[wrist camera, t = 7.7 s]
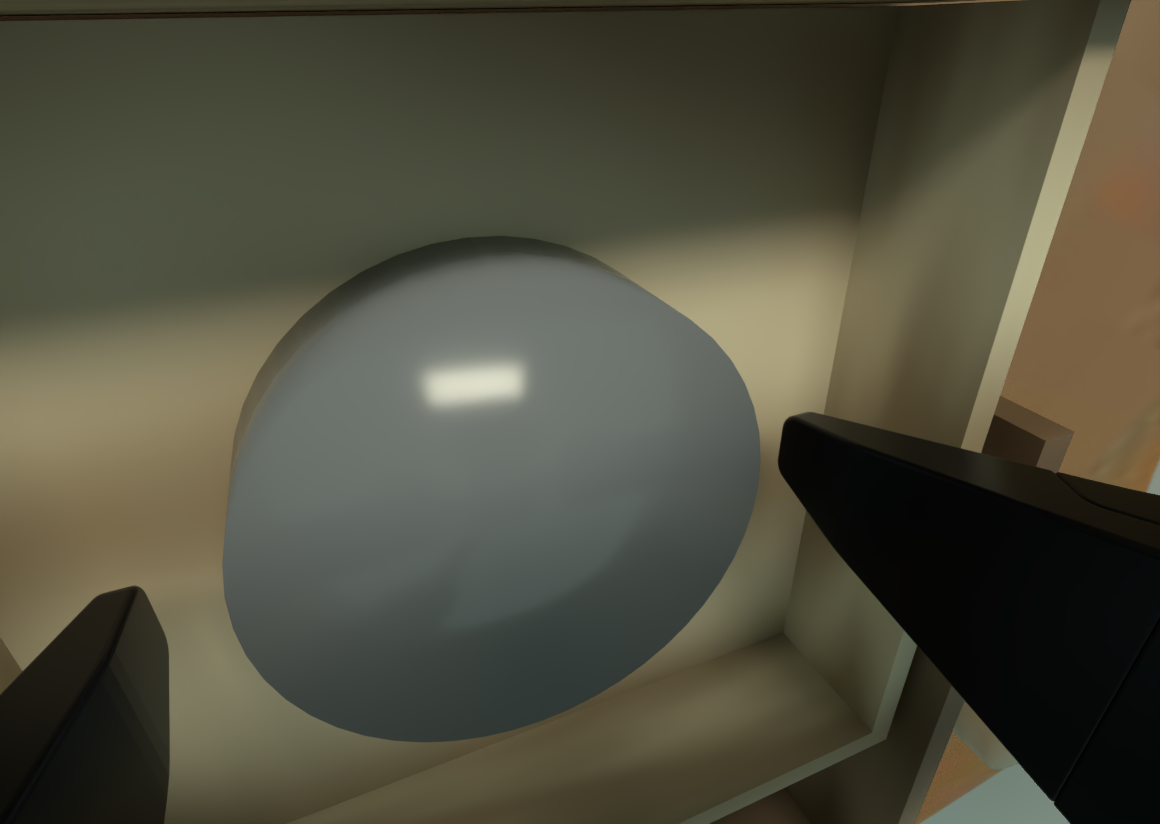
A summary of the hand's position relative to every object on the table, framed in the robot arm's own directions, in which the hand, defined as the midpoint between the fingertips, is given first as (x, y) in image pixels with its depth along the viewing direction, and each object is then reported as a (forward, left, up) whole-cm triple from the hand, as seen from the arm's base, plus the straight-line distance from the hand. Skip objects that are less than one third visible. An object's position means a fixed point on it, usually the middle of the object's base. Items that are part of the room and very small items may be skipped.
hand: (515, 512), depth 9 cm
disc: (0, 0, -1) cm, 1 cm away
